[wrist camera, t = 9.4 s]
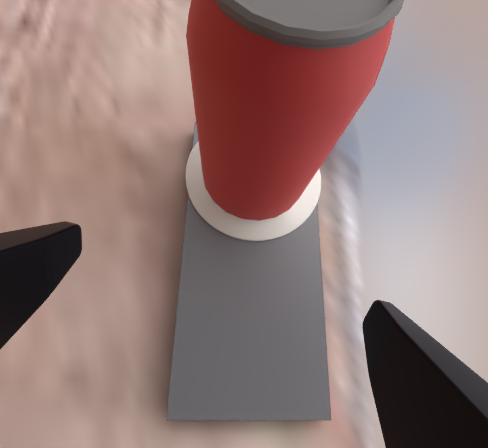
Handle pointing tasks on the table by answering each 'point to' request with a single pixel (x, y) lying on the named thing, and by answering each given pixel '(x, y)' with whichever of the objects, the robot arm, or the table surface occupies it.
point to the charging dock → (249, 312)
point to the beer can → (278, 91)
